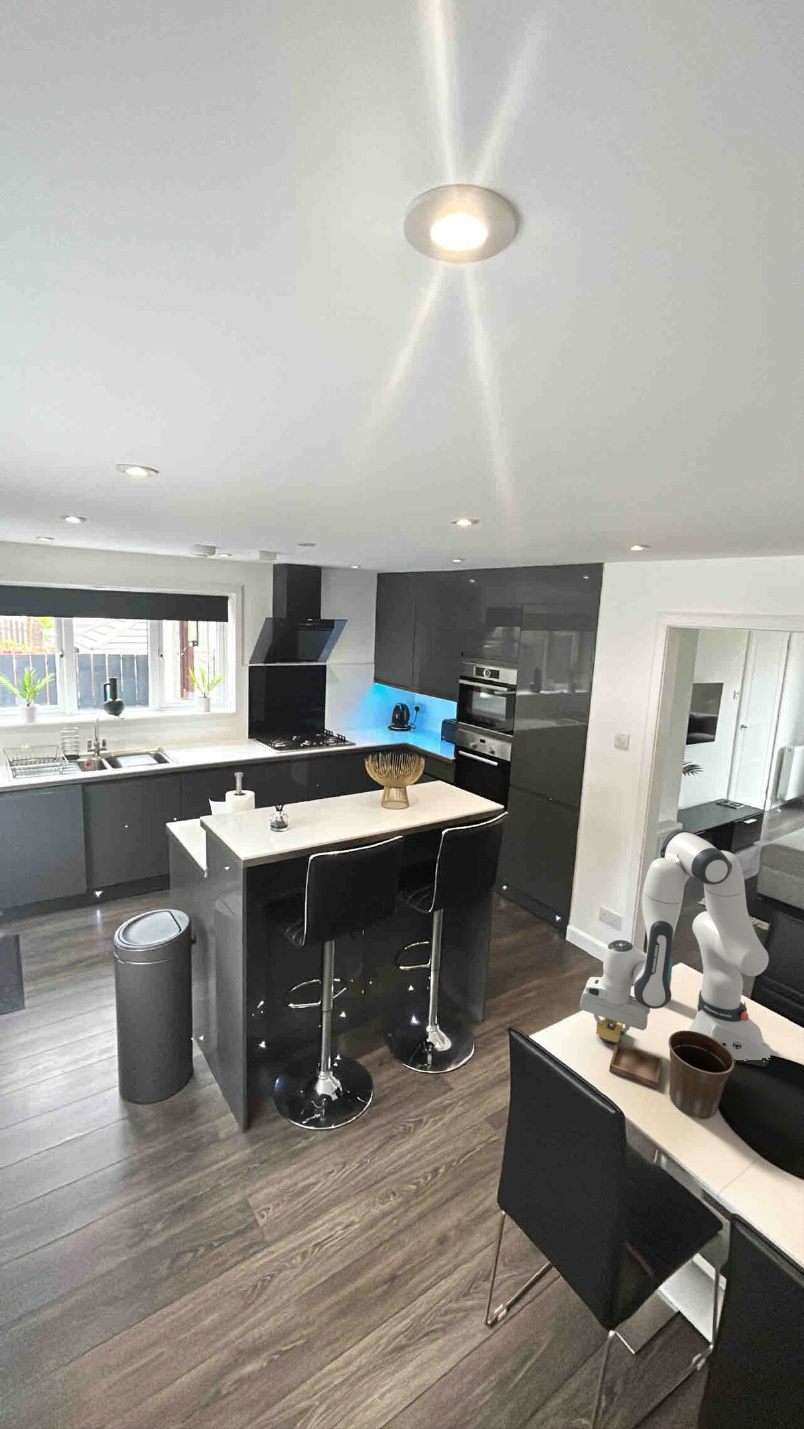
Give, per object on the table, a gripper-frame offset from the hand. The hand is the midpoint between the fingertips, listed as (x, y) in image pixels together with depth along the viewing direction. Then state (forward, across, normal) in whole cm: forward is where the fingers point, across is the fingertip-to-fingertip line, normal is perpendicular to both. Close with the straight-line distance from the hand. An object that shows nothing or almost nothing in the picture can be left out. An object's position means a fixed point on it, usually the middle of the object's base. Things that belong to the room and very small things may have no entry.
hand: (611, 1030), depth 196 cm
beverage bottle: (+2, -11, -29) cm, 31 cm away
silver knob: (+2, 0, 0) cm, 2 cm away
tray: (+2, -9, +10) cm, 14 cm away
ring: (0, 0, 0) cm, 0 cm away
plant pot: (+2, -25, +15) cm, 29 cm away
